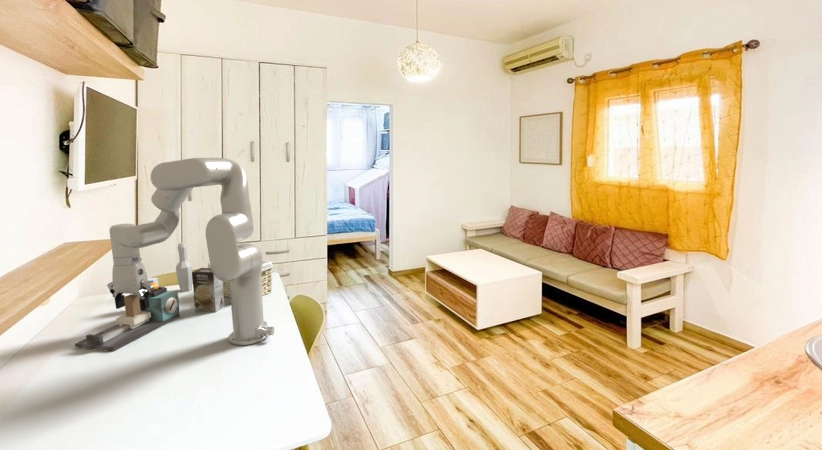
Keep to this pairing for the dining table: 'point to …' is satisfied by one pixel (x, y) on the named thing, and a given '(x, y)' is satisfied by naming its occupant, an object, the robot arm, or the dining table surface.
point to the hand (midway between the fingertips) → (132, 308)
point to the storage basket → (265, 279)
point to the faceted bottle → (184, 270)
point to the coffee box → (207, 291)
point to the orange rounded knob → (154, 286)
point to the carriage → (133, 313)
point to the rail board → (117, 336)
